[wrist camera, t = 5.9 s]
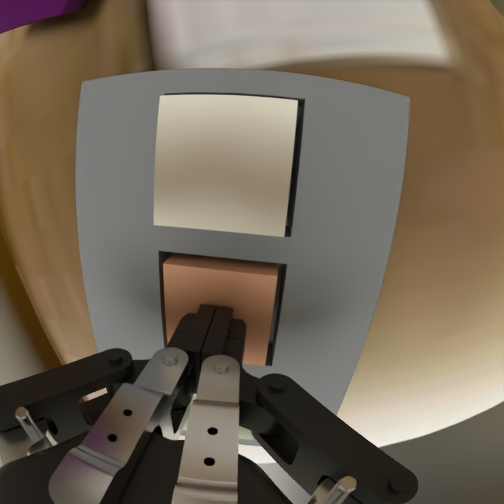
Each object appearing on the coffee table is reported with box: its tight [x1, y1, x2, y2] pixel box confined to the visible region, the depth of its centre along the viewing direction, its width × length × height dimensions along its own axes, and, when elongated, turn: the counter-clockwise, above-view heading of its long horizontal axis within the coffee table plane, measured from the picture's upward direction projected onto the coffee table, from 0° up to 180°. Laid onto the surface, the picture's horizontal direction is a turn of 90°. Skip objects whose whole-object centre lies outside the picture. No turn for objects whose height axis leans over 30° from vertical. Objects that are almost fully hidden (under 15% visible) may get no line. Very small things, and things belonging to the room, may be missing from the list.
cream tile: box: [154, 95, 298, 237], centre depth 11 cm, size 5×5×2 cm
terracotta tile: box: [163, 252, 277, 366], centre depth 14 cm, size 5×5×2 cm
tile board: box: [76, 68, 410, 446], centre depth 15 cm, size 22×15×3 cm
